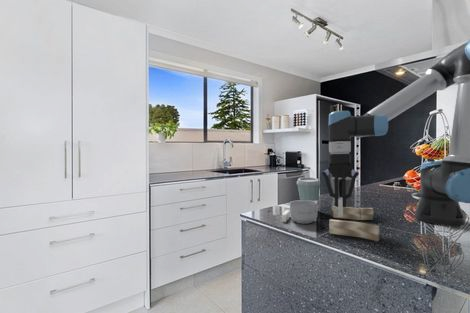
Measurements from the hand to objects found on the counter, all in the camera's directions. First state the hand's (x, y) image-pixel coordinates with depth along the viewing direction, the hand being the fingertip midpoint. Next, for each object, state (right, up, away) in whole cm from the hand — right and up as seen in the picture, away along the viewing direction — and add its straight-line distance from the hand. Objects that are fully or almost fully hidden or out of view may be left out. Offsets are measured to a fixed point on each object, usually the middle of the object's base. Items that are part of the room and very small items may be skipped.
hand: (340, 215), depth 95 cm
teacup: (-11, -4, +6) cm, 13 cm away
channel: (+4, -4, -2) cm, 6 cm away
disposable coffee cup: (-6, -3, +21) cm, 22 cm away
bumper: (-19, -4, +9) cm, 21 cm away
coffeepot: (+9, -3, +19) cm, 21 cm away
